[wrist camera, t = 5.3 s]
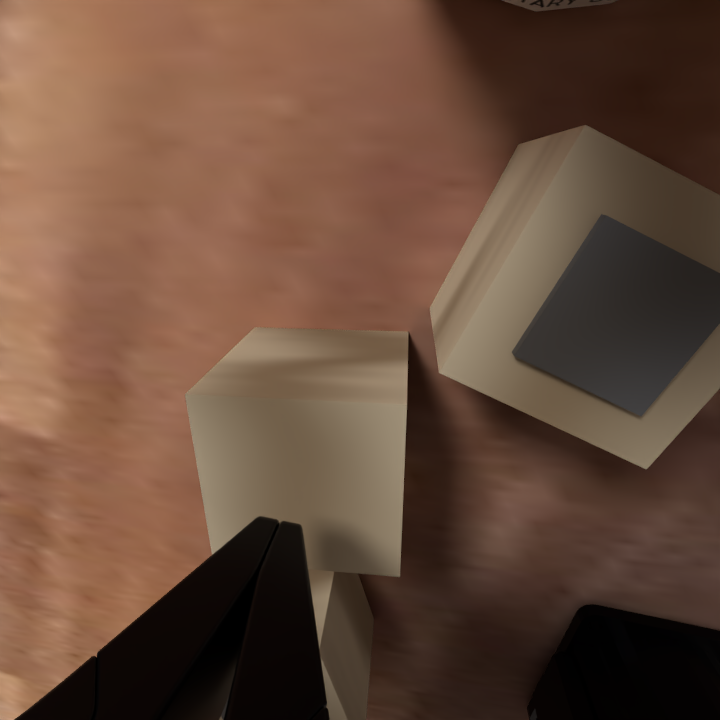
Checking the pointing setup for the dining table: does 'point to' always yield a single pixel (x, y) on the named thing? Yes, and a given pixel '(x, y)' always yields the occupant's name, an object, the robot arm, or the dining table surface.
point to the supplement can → (556, 4)
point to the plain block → (308, 442)
